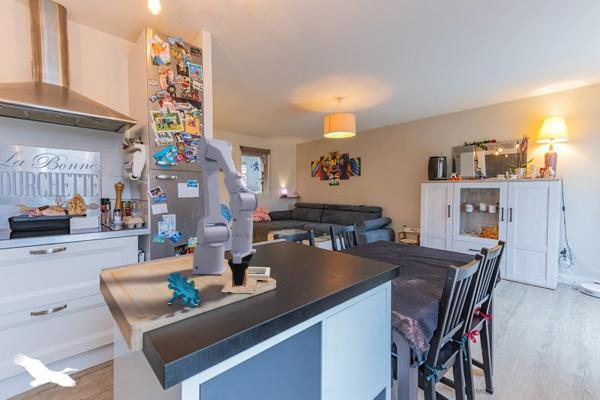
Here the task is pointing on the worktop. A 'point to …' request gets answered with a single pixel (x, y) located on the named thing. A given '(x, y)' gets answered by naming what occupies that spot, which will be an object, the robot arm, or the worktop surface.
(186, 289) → the teal spiky cog
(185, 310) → the worktop surface
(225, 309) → the worktop surface
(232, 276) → the light brown wooden cube
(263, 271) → the socket
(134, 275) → the worktop surface
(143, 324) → the worktop surface
